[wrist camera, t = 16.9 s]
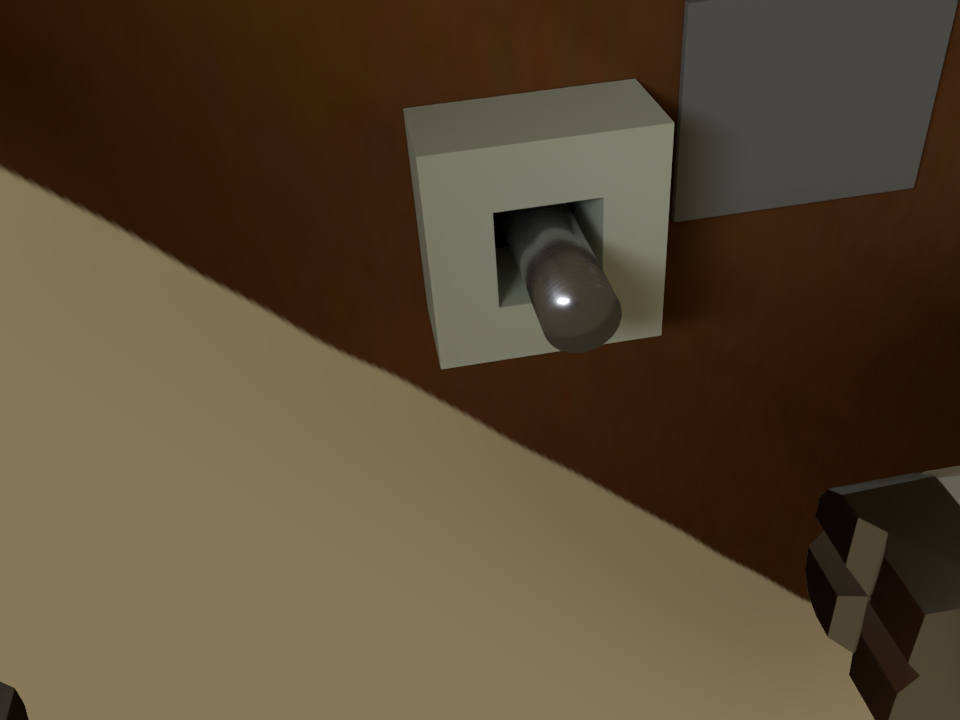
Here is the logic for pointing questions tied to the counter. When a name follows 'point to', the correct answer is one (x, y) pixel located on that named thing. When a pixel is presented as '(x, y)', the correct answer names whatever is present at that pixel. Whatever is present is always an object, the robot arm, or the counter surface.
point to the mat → (803, 100)
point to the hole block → (531, 183)
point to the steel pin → (562, 277)
